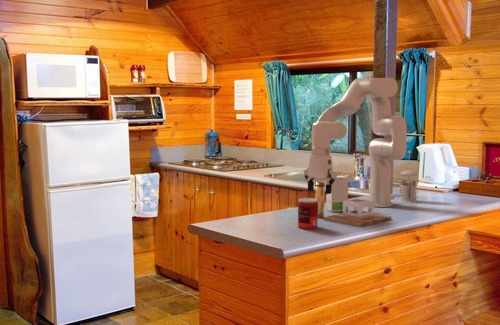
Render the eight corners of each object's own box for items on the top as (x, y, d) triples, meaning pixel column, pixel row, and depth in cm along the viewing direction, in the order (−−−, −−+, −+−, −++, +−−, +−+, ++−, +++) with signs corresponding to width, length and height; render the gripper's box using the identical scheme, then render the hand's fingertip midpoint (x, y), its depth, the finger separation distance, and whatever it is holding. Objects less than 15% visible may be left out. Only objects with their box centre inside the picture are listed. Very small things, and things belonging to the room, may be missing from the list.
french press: (416, 199, 301) (418, 149, 299) (420, 203, 290) (422, 151, 287) (396, 199, 302) (397, 149, 299) (399, 203, 291) (401, 151, 288)
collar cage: (355, 213, 256) (356, 198, 255) (373, 217, 249) (373, 200, 249) (342, 216, 250) (342, 200, 249) (360, 219, 243) (360, 203, 242)
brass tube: (318, 215, 257) (319, 181, 256) (326, 217, 254) (327, 182, 253) (312, 217, 254) (313, 182, 253) (319, 218, 251) (320, 183, 250)
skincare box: (330, 212, 266) (331, 177, 264) (325, 209, 272) (325, 175, 271) (348, 211, 268) (349, 176, 266) (342, 208, 274) (343, 174, 273)
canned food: (315, 225, 238) (316, 197, 237) (318, 229, 230) (319, 201, 229) (296, 225, 238) (297, 197, 237) (299, 229, 230) (299, 201, 229)
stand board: (356, 213, 264) (356, 210, 264) (391, 219, 251) (391, 216, 251) (324, 219, 249) (324, 217, 248) (359, 226, 236) (359, 223, 235)
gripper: (342, 152, 248) (341, 194, 249) (310, 150, 260) (309, 189, 262) (331, 153, 242) (329, 195, 244) (299, 150, 255) (298, 190, 257)
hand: (319, 192), depth 253 cm, fingers open, 9 cm apart
